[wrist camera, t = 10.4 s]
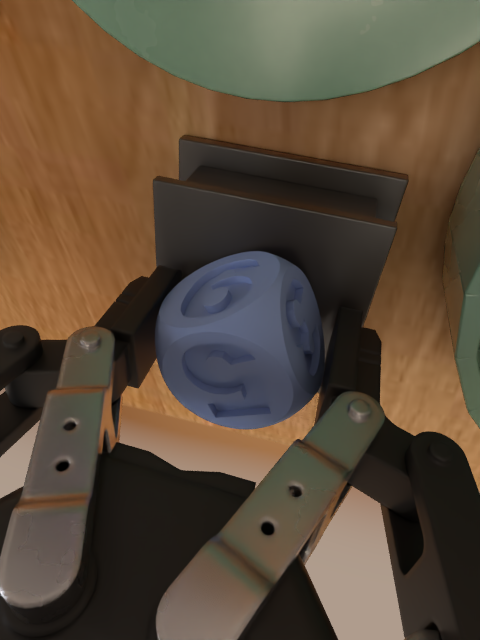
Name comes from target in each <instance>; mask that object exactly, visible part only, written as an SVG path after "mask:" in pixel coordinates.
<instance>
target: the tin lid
mask: <svg viewBox="0 0 480 640" xmlns="http://www.w3.org/2000/svg"><path fill="white" fill-rule="evenodd" d="M72 1H73V2H74V3H75V4H76V5H78V6H79V7H80V8H81V9H82V10H83V11H84V12H85V13H86V14H87V15H88V16H89V17H90V18H92V19H93V20H94V21H95V22H96V23H97V24H98V25H99V26H100V27H101V28H102V29H103V30H104V31H106V32H107V33H108V34H110V35H111V36H112V37H114V38H115V39H116V40H118V41H119V42H121V43H122V44H123V45H125V46H126V47H127V48H129V49H130V50H131V51H133V52H134V53H135V54H137V55H138V56H140V57H141V58H143V59H145V60H147V61H149V62H150V63H152V64H154V65H156V66H157V67H159V68H161V69H163V70H165V71H166V72H168V73H170V74H172V75H174V76H176V77H178V78H181V79H183V80H186V81H189V82H191V83H194V84H196V85H199V86H201V87H204V88H206V89H209V90H212V91H217V92H221V93H225V94H229V95H233V96H238V97H242V98H246V99H255V100H266V101H278V102H298V101H316V100H328V99H333V98H338V97H344V96H349V95H354V94H359V93H364V92H369V91H372V90H374V89H377V88H380V87H383V86H386V85H389V84H392V83H395V82H398V81H401V80H404V79H407V78H410V77H413V76H415V75H417V74H419V73H421V72H423V71H425V70H428V69H430V68H432V67H434V66H436V65H438V64H440V63H442V62H444V61H446V60H449V59H451V58H453V57H455V56H457V55H459V54H461V53H462V52H464V51H466V50H467V49H469V48H470V47H472V46H474V45H475V44H477V43H478V42H480V0H72Z"/></svg>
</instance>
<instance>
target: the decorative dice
mask: <svg viewBox="0 0 480 640" xmlns="http://www.w3.org/2000/svg"><path fill="white" fill-rule="evenodd" d="M155 350H156V356H157V361H158V365H159V368H160V371H161V374H162V377H163V379H164V381H165V383H166V385H167V386H168V388H169V389H170V391H171V392H172V394H173V395H174V396H175V397H176V399H177V400H178V401H179V402H180V403H181V404H182V405H184V406H185V407H186V408H187V409H188V410H190V411H191V412H193V413H194V414H196V415H198V416H199V417H201V418H203V419H205V420H207V421H210V422H212V423H215V424H218V425H221V426H225V427H229V428H235V429H257V428H263V427H267V426H270V425H274V424H276V423H279V422H281V421H283V420H285V419H287V418H289V417H291V416H292V415H294V414H295V413H297V412H298V411H299V410H301V409H302V408H303V407H304V406H305V405H306V404H307V403H308V402H309V401H310V400H311V399H312V398H313V396H314V395H315V394H316V393H317V392H318V390H319V388H320V386H321V384H322V380H323V375H324V367H325V347H324V336H323V328H322V322H321V317H320V313H319V309H318V305H317V301H316V298H315V295H314V292H313V290H312V287H311V285H310V283H309V281H308V279H307V277H306V276H305V274H304V273H303V272H302V270H301V269H299V268H298V267H297V266H295V265H294V264H292V263H291V262H289V261H287V260H285V259H283V258H281V257H279V256H276V255H273V254H270V253H267V252H262V251H250V252H243V253H238V254H234V255H230V256H227V257H224V258H221V259H219V260H216V261H214V262H212V263H209V264H207V265H205V266H203V267H202V268H200V269H198V270H196V271H195V272H193V273H192V274H190V275H189V276H187V277H186V278H184V279H183V280H182V281H181V282H179V283H178V284H177V285H176V286H175V287H174V288H173V289H172V290H171V291H170V292H169V293H168V294H167V296H166V297H165V299H164V300H163V302H162V304H161V307H160V310H159V313H158V316H157V320H156V326H155Z"/></svg>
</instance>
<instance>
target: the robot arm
mask: <svg viewBox="0 0 480 640" xmlns="http://www.w3.org/2000/svg"><path fill="white" fill-rule="evenodd" d="M181 281H182V272H181V270H179V269H174V268H170V267H165V266H161V265H159V266H158V267H157V268H156V269H155V271H154V272H153V273H152V274H151V276H150V277H149V278H148V277H144V276H141V277H139V278H138V279H136V280H134V281H132V282H130V283H129V284H128V286H127V287H126V288H125V289H124V291H123V292H122V294H120V295H119V297H118V298H117V299H116V302H114V303H113V304H112V305H111V307H110V308H109V309H108V310H107V311H106V313H105V314H104V315H103V316H102V318H101V319H100V320H99V321H98V322H97V324H96V325H95V326H93V327H85V328H82V329H80V330H77V331H76V332H74V333H73V334H71V336H70V337H69V338H68V340H41V339H40V336H39V333H38V331H37V330H36V329H34V328H32V327H29V326H23V325H18V326H11V327H8V328H5V329H3V330H0V391H1V390H2V389H3V388H5V390H6V391H5V392H4V393H3V394H1V395H0V457H1V456H2V455H3V454H4V453H5V452H6V451H7V450H8V449H9V448H10V447H11V446H13V445H14V444H15V443H16V442H17V441H18V440H19V439H20V438H21V437H22V436H23V435H24V434H25V433H26V432H27V431H29V430H30V429H31V428H32V427H33V426H34V425H35V424H36V423H37V422H38V421H39V420H40V423H39V427H38V431H37V435H36V439H35V443H34V447H33V451H32V455H31V459H30V463H29V467H28V471H27V475H26V479H25V483H24V486H23V487H21V488H19V489H17V490H15V491H14V492H12V493H10V494H8V495H6V496H4V497H2V498H1V499H0V640H338V638H337V636H336V634H335V632H334V629H333V627H332V625H331V623H330V621H329V618H328V616H327V614H326V612H325V610H324V607H323V605H322V603H321V601H320V599H319V596H318V594H317V592H316V590H315V588H314V585H313V583H312V581H311V579H310V577H309V575H308V572H307V570H306V568H305V564H306V562H307V560H308V559H309V557H310V555H311V554H312V552H313V551H314V549H315V547H316V546H317V544H318V542H319V540H320V539H321V537H322V535H323V533H324V531H325V529H326V528H327V526H328V524H329V523H330V521H331V520H332V518H333V516H334V515H335V513H336V512H337V510H338V508H339V507H340V505H341V503H342V502H343V501H344V499H345V497H346V496H347V494H348V493H349V491H350V489H351V488H352V486H353V487H355V488H356V489H358V490H360V491H361V492H363V493H364V494H366V495H368V496H370V497H371V498H373V499H374V500H376V501H378V502H379V503H381V510H382V515H383V521H384V526H385V532H386V537H387V543H388V548H389V553H390V559H391V565H392V570H393V576H394V581H395V586H396V592H397V598H398V603H399V609H400V615H401V620H402V626H403V631H404V637H405V639H404V640H480V493H479V491H478V488H477V485H476V482H475V480H474V477H473V474H472V472H471V469H470V466H469V463H468V461H467V458H466V456H465V453H464V452H463V450H462V449H461V448H460V446H459V445H458V444H457V443H455V442H454V441H453V440H452V439H450V438H448V437H447V436H445V435H442V434H440V433H436V432H422V433H419V434H418V435H416V436H414V435H412V434H410V433H408V432H406V431H404V430H402V429H401V428H399V427H397V426H396V425H394V424H393V423H392V422H391V421H390V420H389V419H388V418H387V417H386V416H385V414H384V411H383V409H382V407H381V405H380V375H381V366H380V365H381V340H380V338H379V336H378V335H377V333H376V331H375V330H372V329H368V328H364V327H361V325H362V311H359V310H355V309H350V308H346V307H341V306H340V308H339V311H338V314H337V317H336V321H335V324H334V328H333V331H332V335H331V338H330V342H329V345H328V350H327V354H326V359H325V367H324V375H323V380H322V384H321V388H320V394H319V400H318V406H317V412H316V418H315V424H314V427H313V428H312V429H311V430H310V432H309V433H308V434H307V435H306V436H305V438H304V439H303V440H302V441H301V440H300V439H297V440H296V441H295V442H294V443H293V444H292V445H291V446H290V447H289V448H288V450H287V451H286V452H285V453H284V454H283V456H282V457H281V458H280V459H279V461H278V462H277V463H276V464H275V465H274V467H273V468H272V469H271V470H270V471H269V473H268V474H267V475H266V476H265V478H264V479H263V480H262V481H261V482H260V484H259V485H258V486H257V487H256V488H255V485H256V482H252V481H249V480H245V479H242V478H238V477H235V476H232V475H228V474H225V473H221V472H204V471H183V470H180V469H178V468H176V467H174V466H173V465H171V464H169V463H168V462H166V461H164V460H163V459H161V458H159V457H158V456H156V455H154V454H153V453H151V452H149V451H146V450H142V449H139V448H135V447H132V446H128V445H125V444H121V443H119V438H120V425H121V413H122V401H123V398H122V393H123V391H124V390H125V388H126V387H127V386H131V387H135V388H139V387H140V385H141V383H142V382H143V380H144V378H145V376H146V375H147V373H148V371H149V370H150V368H151V366H152V365H153V363H154V361H155V360H156V358H157V356H156V350H155V326H156V320H157V316H158V313H159V310H160V307H161V304H162V302H163V300H164V299H165V297H166V296H167V294H168V293H169V292H170V291H171V290H172V289H173V288H174V287H175V286H176V285H177V284H178V283H179V282H181Z"/></svg>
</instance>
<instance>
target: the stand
mask: <svg viewBox="0 0 480 640" xmlns="http://www.w3.org/2000/svg"><path fill="white" fill-rule="evenodd" d="M407 184H408V175H404V174H399V173H393V172H387V171H382V170H376V169H371V168H365V167H360V166H354V165H348V164H343V163H337V162H332V161H326V160H320V159H315V158H309V157H304V156H298V155H292V154H287V153H281V152H276V151H270V150H264V149H259V148H253V147H248V146H242V145H237V144H231V143H225V142H220V141H214V140H209V139H203V138H197V137H192V136H186V135H183V136H182V137H181V138H180V139H179V180H177V179H172V178H167V177H162V176H157V177H156V178H155V179H154V180H153V196H154V219H155V243H156V266H157V267H158V266H159V265H161V266H165V267H170V268H174V269H179V270H181V272H182V280H183V279H184V278H186V277H187V276H189V275H190V274H192V273H193V272H195V271H196V270H198V269H200V268H202V267H203V266H205V265H207V264H209V263H212V262H214V261H216V260H219V259H221V258H224V257H227V256H230V255H234V254H238V253H243V252H250V251H262V252H267V253H270V254H273V255H276V256H279V257H281V258H283V259H285V260H287V261H289V262H291V263H292V264H294V265H295V266H297V267H298V268H299V269H301V270H302V272H303V273H304V274H305V276H306V277H307V279H308V281H309V283H310V285H311V287H312V290H313V292H314V295H315V298H316V301H317V305H318V309H319V313H320V317H321V322H322V328H323V336H324V347H325V359H326V354H327V350H328V345H329V342H330V338H331V335H332V331H333V328H334V324H335V321H336V317H337V314H338V311H339V308H340V306H341V307H346V308H350V309H355V310H359V311H362V325H361V327H363V325H364V322H365V320H366V317H367V314H368V311H369V308H370V305H371V302H372V299H373V297H374V294H375V291H376V288H377V285H378V282H379V279H380V276H381V273H382V271H383V268H384V265H385V262H386V259H387V256H388V253H389V250H390V248H391V245H392V242H393V239H394V236H395V233H396V230H397V222H395V219H396V216H397V213H398V210H399V207H400V204H401V201H402V198H403V196H404V193H405V190H406V187H407ZM320 388H321V386H320ZM320 388H319V390H318V392H317V393H320Z"/></svg>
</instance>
